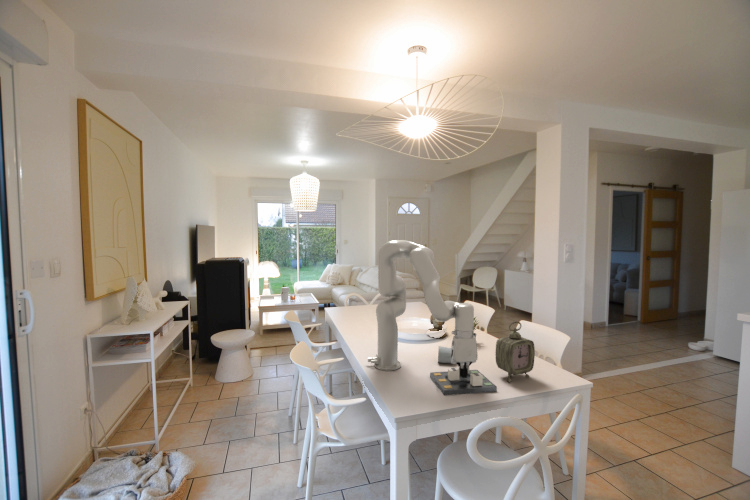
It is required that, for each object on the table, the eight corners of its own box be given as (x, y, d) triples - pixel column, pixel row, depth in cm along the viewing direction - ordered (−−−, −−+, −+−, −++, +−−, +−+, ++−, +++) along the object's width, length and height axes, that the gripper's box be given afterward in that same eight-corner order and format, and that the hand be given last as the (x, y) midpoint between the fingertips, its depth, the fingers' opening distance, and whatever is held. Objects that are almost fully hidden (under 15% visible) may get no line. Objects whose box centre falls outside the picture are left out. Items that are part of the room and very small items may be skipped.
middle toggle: (450, 380, 137) (450, 370, 136) (447, 378, 139) (448, 368, 139) (459, 380, 137) (459, 369, 137) (456, 377, 140) (457, 367, 139)
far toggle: (460, 373, 144) (460, 363, 143) (458, 371, 146) (458, 361, 146) (469, 373, 144) (469, 363, 144) (466, 370, 147) (466, 361, 147)
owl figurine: (424, 330, 217) (425, 304, 217) (442, 330, 217) (443, 305, 217) (428, 338, 199) (429, 310, 199) (448, 339, 199) (449, 311, 199)
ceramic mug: (455, 366, 158) (455, 350, 158) (437, 364, 159) (438, 348, 159) (454, 358, 168) (454, 343, 168) (437, 357, 170) (438, 342, 170)
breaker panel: (444, 395, 129) (444, 388, 129) (429, 377, 145) (430, 371, 145) (496, 391, 132) (496, 385, 132) (477, 374, 149) (477, 368, 149)
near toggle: (472, 386, 132) (473, 375, 132) (470, 383, 134) (470, 372, 134) (482, 385, 132) (482, 374, 132) (479, 382, 135) (479, 372, 135)
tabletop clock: (508, 385, 138) (510, 325, 137) (493, 376, 146) (494, 320, 145) (534, 379, 144) (535, 322, 143) (517, 371, 152) (518, 317, 151)
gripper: (450, 336, 133) (449, 381, 134) (485, 335, 136) (484, 379, 136) (443, 331, 140) (443, 374, 141) (476, 330, 143) (475, 372, 144)
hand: (463, 376), depth 139 cm, fingers closed
